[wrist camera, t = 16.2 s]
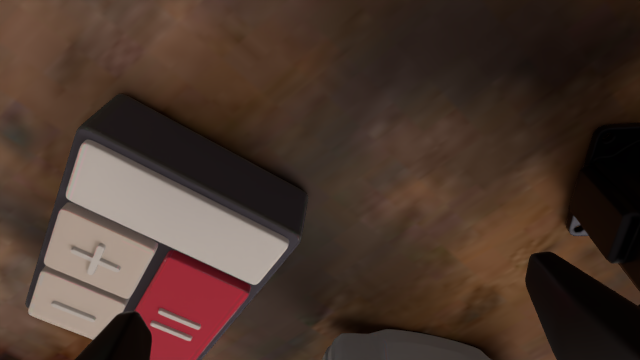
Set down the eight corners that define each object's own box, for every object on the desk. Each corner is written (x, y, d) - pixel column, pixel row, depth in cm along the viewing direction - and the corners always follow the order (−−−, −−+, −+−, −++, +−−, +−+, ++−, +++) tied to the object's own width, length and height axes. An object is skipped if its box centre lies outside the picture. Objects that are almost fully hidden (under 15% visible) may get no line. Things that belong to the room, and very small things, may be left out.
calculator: (13, 318, 25) (66, 131, 17) (57, 264, 28) (117, 89, 20) (187, 384, 27) (302, 250, 19) (207, 327, 31) (312, 194, 23)
